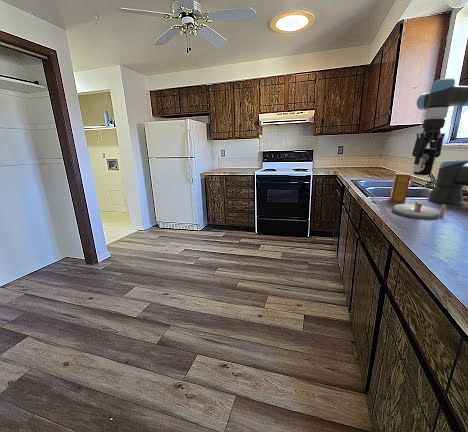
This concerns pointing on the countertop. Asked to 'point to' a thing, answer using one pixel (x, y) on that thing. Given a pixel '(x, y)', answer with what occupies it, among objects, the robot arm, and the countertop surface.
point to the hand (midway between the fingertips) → (422, 171)
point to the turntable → (416, 209)
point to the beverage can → (427, 162)
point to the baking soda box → (400, 187)
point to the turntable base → (422, 216)
